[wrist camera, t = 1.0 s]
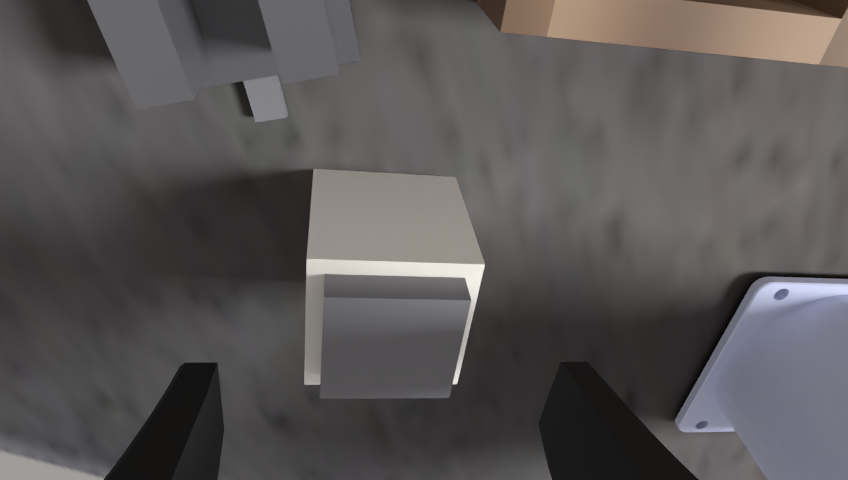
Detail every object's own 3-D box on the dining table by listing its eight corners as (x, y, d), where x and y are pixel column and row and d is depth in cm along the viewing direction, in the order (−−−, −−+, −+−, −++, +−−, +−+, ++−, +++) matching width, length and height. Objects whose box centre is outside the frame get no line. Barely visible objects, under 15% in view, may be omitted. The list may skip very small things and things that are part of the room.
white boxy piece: (455, 176, 17) (492, 286, 13) (435, 284, 19) (462, 408, 15) (313, 167, 16) (304, 282, 12) (310, 281, 18) (302, 410, 14)
